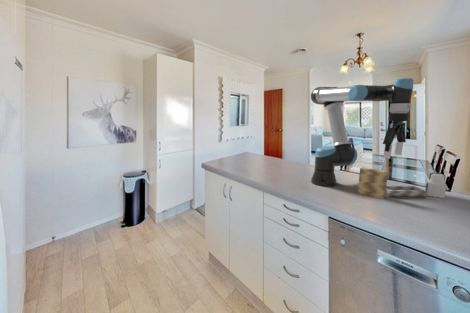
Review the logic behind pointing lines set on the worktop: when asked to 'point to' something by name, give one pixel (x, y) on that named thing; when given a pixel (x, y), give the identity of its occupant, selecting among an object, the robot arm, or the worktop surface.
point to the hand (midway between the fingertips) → (392, 156)
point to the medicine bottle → (436, 185)
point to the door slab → (373, 182)
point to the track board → (405, 192)
